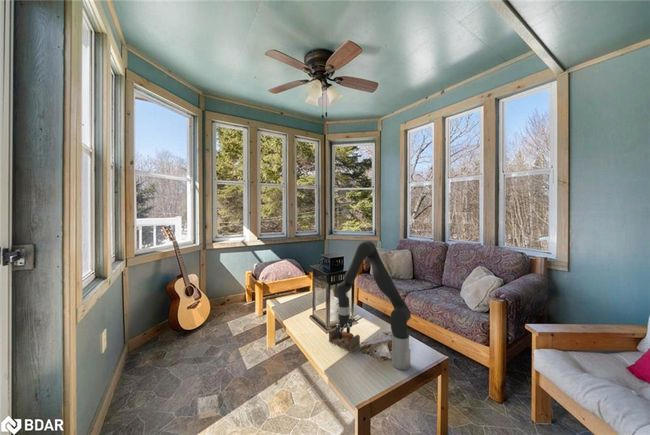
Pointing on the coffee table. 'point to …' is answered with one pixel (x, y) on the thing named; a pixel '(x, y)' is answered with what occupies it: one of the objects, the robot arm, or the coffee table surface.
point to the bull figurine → (346, 335)
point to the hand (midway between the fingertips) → (344, 336)
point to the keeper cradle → (350, 346)
